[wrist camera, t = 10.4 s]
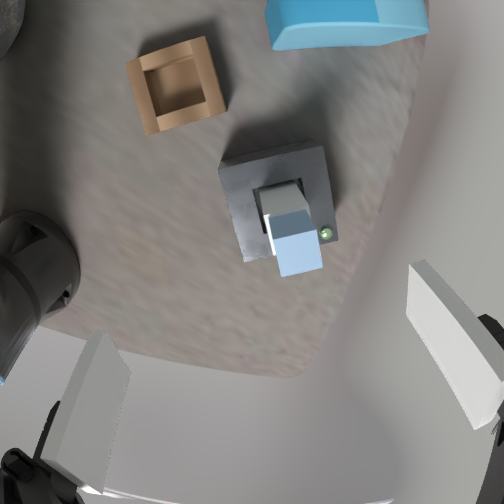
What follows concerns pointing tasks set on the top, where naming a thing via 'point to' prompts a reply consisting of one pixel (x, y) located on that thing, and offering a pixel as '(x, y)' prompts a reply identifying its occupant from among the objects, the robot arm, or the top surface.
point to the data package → (343, 22)
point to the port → (270, 172)
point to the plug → (290, 228)
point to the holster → (176, 85)
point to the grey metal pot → (10, 22)
